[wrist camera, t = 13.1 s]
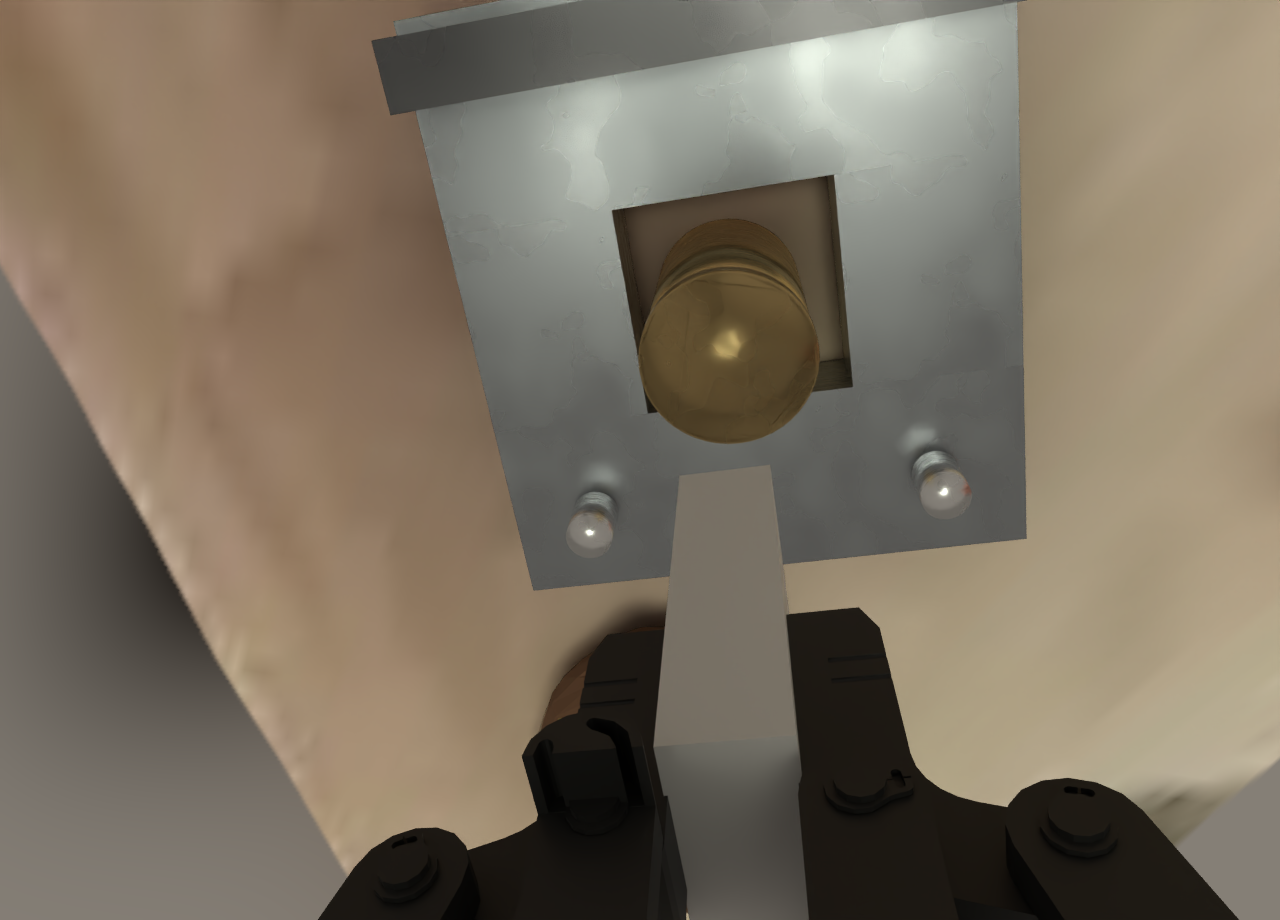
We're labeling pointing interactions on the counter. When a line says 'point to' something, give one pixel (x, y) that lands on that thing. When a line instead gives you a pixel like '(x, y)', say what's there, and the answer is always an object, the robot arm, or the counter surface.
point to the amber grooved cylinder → (729, 335)
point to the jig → (720, 162)
